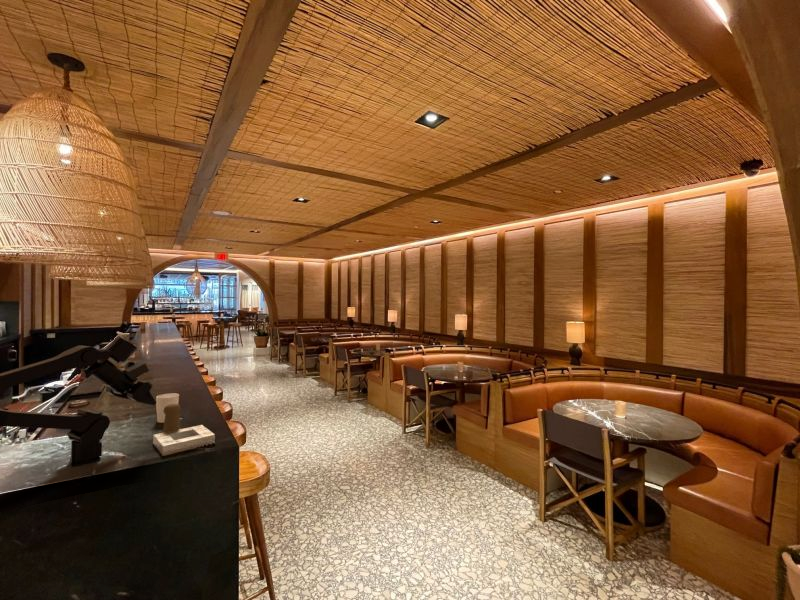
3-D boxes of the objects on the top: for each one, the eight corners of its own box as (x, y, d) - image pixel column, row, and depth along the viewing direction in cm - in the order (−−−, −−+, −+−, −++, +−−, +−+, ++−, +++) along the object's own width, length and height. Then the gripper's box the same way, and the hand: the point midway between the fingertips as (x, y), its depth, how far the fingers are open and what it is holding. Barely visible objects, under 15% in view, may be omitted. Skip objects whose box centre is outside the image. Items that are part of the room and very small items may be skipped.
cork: (178, 437, 128) (178, 406, 128) (158, 439, 126) (159, 407, 126) (183, 431, 133) (184, 401, 134) (165, 433, 132) (166, 402, 132)
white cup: (182, 419, 148) (182, 395, 148) (161, 424, 142) (161, 399, 142) (172, 416, 152) (173, 392, 153) (151, 421, 146) (152, 396, 146)
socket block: (162, 455, 112) (163, 446, 112) (153, 443, 122) (153, 434, 122) (214, 443, 122) (214, 434, 122) (201, 433, 132) (202, 424, 132)
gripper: (146, 356, 114) (181, 385, 124) (117, 352, 124) (151, 379, 133) (116, 386, 107) (155, 414, 117) (88, 380, 116) (126, 406, 126)
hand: (148, 402), depth 123 cm, fingers open, 9 cm apart
